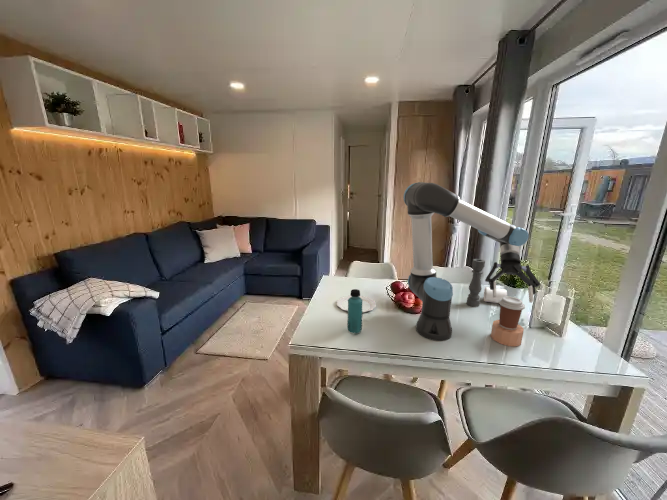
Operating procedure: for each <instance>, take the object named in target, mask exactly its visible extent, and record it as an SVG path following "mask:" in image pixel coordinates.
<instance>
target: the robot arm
mask: <svg viewBox="0 0 667 500" xmlns="http://www.w3.org/2000/svg"><path fill="white" fill-rule="evenodd" d="M403 202H404V204H405V205H406V207H407V208H406V209H407V215H408V216H409V217H410V218H411V236H412V237H411V239H412V263H413V267H412V268H411V269H410V275H408V278H407V285H408V287H409V289H410V291H411V292H412V293H413V294H414V295H415V296H416V297H418V299H419V300H420V301H421V302H422V303H421V313H420V315H419V317H418V320H417V321H416V325H415V330H416V332H417V333H418V335H420V336H422V337H424V338H426V339H429V340H431V341H432V340H433V341H445V340H449V339H450V338H452V335H453V327H452V324H451V317H450V315H451V307H452V299H453V297H454V296H453V295H454V293H453V291H454V290H453V285H452V283H451V282H449V281H448V280H447V279H445V278H444V279H443V278H441V277H437V269H436V268H435V267H433V232H432V231H433V229H432V217H433V216H434V214H436V215H439V216H440V215H441V216H442V217H445V218H447V217H451V218H453V219H455V220H457V221H459V222H461V223H463V224H465V225H468V226H469V227H472V228H474V229H475V230H477V232H478V233H479V234H480V235H482V236H483V237H487V238H489V239H491V240H493V241H495V242H498V243H499V248H500V249H499V251H500V263H498V262H497V261H494V262H493V264H492V269H491V270H490V271H489V273H488V274H487V276H486V277H485V280H484V281H485V282H486V283H487V282H488V284H489V288H490V290H493V298H495V297H496V288H497V282H496V281H497V280H498V279H499V278H501V277H502V276H503V275H504V274H505V275H511V276H515V275H516V277H518V278H520V279H521V280H522V281H523V282H524V283H525V284H526V285H527V286H528V289H527V291H528V303H533V302H534V301H535V299H534V295H536V293H537V292H536V288H539V286H540V285H541V283H540V281H539V280H538V278H537V277H536V276H535V275H534V273H533V271H532V270H531V268H530V265H528V264H526V265H522V264H521V256H520V255H521V253H520V251H521V250H520V247H521V246H524V245H525V244H526V243H527V241H528V240H529V232H528V230H526V229H525V228H523V227H518V226H516V225H514V224H511V223H509V222H508V221H505V220H503V219H501V218H499V217H497V216H495V215H494V214H491V213H488V212H487V211H484V210H482V209H480V208H478V207H476V206H474V205H473V204H470V203H468V202H466V201H464V200H462V199H461V198H460V196H459V195H458V194H456V193H454V192H452V191H450V190H449V189H447V188H445V187H443V186H441V185H439V184H438V183H434V182H424V181H420V182H419V181H417V182H414V183H412V184H410V185H408V186H407V187H406V188H405V190H404V192H403ZM499 268H500V271H499V272H498V273H496V274H495V275H494V276H493V274H494V272H495V271H496V269H499ZM492 276H493V277H492Z"/></svg>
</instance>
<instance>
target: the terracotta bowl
mask: <svg viewBox="0 0 667 500" xmlns="http://www.w3.org/2000/svg"><path fill="white" fill-rule="evenodd" d="M524 329H525V328H524V327H523V326H522V325H520V324H518V325H517V329H516V330H508V329H505V328H503V327H501V326H500V325H499V319H496V320H493V322H492V326H491V331H490V338H491V339H492V340H493V341H495V342H497V343H498V344H501V345H504V346H506V347H507V346H508V347H519V346H521V345H522V341H523V336H524V331H525V330H524Z"/></svg>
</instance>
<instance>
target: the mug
mask: <svg viewBox="0 0 667 500" xmlns="http://www.w3.org/2000/svg"><path fill="white" fill-rule="evenodd" d="M506 296H508V291H507V289H505V288H504V289H502V288H497V287H496V297H495V298H493V290H490V286H487V287H486V286H485V287H484V291H483V301H484V302H487V303H494V304H499V300H501V299H502V298H503V297H506Z"/></svg>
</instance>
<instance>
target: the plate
mask: <svg viewBox="0 0 667 500" xmlns="http://www.w3.org/2000/svg"><path fill="white" fill-rule="evenodd" d="M350 297H352V296H351V295H347V296H342V297H340V298H339V299H337V300H336V306H337V307H338V308H340V309H341V310H342V311H346V312H348V309H346V308H344V307H343V304H344V302H346V301H347V302H348V299H349V298H350ZM359 297H360V298H361V299H362V301H364V302H366V303H368V304H369V305H370V307H369V308H368V309H367V310H362V314H363V313H366V312H371V311H372V310H374V309H375V308H376V307H377V304H376V301H375V300H374V299H372V298H370V297H369V296H363V295H360V296H359Z"/></svg>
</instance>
